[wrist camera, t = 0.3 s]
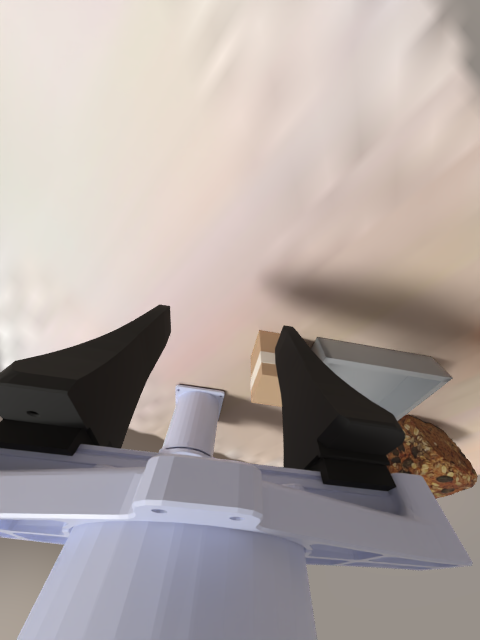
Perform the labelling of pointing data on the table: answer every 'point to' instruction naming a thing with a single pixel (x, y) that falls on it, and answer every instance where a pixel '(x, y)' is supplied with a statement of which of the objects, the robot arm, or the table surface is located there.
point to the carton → (265, 370)
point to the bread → (431, 458)
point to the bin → (383, 373)
